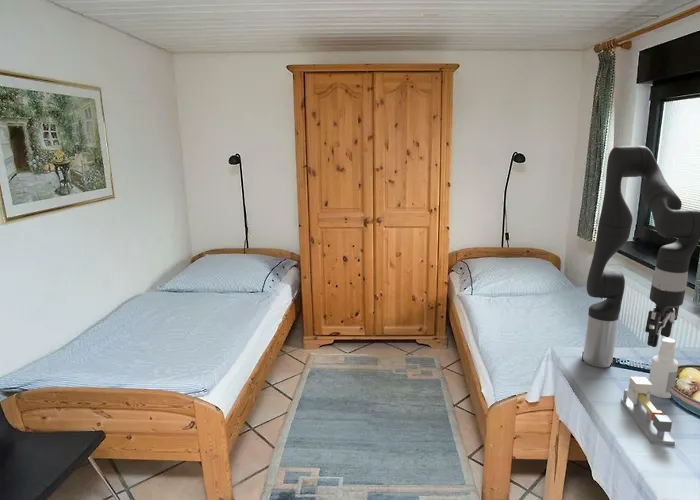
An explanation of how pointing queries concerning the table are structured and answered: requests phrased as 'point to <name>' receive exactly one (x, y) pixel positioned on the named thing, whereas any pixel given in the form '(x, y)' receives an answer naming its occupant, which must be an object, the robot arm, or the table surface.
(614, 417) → the table surface
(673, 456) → the table surface
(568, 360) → the table surface
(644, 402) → the yellow bar
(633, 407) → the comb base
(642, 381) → the sleeve
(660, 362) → the white bottle
